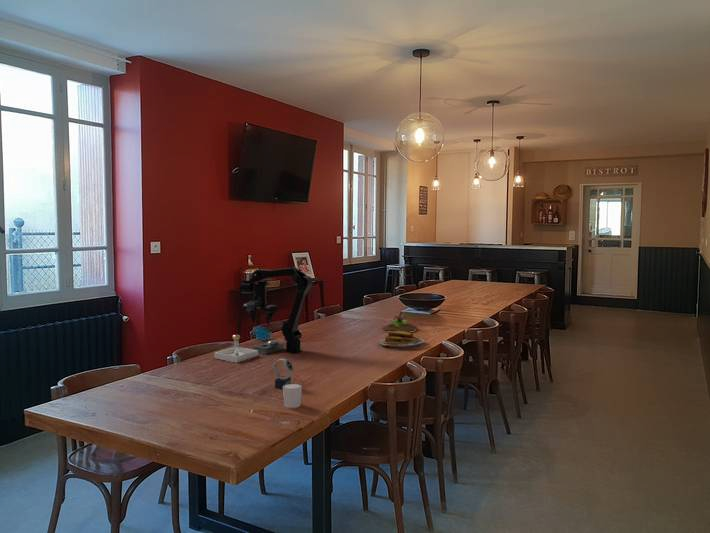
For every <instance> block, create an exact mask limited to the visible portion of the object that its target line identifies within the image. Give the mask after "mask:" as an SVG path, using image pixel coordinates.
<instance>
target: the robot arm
mask: <svg viewBox="0 0 710 533" xmlns="http://www.w3.org/2000/svg"><path fill="white" fill-rule="evenodd" d="M286 276H290V277H291V279H292V280H293V281H294V282H295V283H296V295H295V299H294V302H293V305H292V308H291V311H290V314H289V318H288V319H287V320H284V321H283V324H282V327H281V333H282V335H283V337H284V340H285V347H286V348H285V350H284V353H289V354H290V353H291V354H297V353H299V352H302V351H303V349H301V338H302V336H303V334H302V332H301V331H300V330H299V318H300V315H301V312H302V309H303V306H304V302H305V298H306V296H307V294H308V292H309V291H310V290H311V288H312V286H313V284H314V280H313V278H312V277H311V276H309V275H307V274H306V273H304V272H303V271H302V270H300V269H299V268H297V267H295V266H293V267H288V268H287V267H286V268H279V269H267V268H260V269H259V268H258V269H255V270H254V271H253V272H252V275H251V277H250V279H249V280H247V279H242V280H241V283H240V286H239V291H240V292H241V294H254V295H252V299H250V300H249V301H248V302H246V303H244V304H243V310H245V312H247V313H248V314H249V316H250V319H251V322H252V323H253V324H255V323H256V321H257V311H258V310H264V314H265V317H266V318H265V320H266V321H265V322H266V323H265V324H266V325H267V326H268V325H269V324H270V322H271V320H272V318H273V316H274V314H275V313H276V312H277V311H279V307H278V306H277V305H276V304H275V305H274V304H270V305H269V304H268V302H267V298H268V297H269V295H267V286H269V285H271V284H270V283H269V282H268V279H271V278H278V277H286Z"/></svg>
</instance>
